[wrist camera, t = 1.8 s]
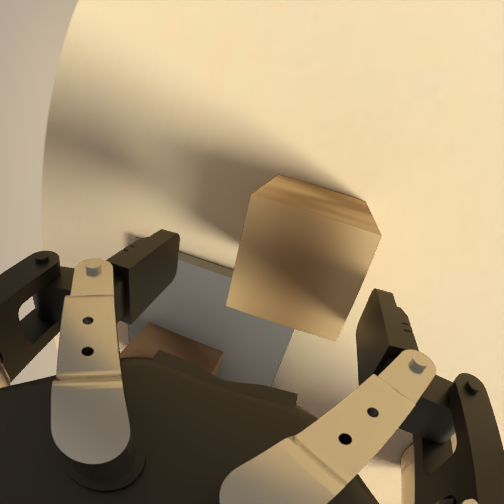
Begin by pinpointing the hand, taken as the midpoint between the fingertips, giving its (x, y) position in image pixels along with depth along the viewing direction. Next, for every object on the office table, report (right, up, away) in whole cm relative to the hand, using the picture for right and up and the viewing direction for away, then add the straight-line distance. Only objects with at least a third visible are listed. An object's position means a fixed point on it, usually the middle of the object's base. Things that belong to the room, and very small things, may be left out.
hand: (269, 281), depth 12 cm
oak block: (+3, +2, +5) cm, 6 cm away
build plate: (-5, -6, +10) cm, 13 cm away
